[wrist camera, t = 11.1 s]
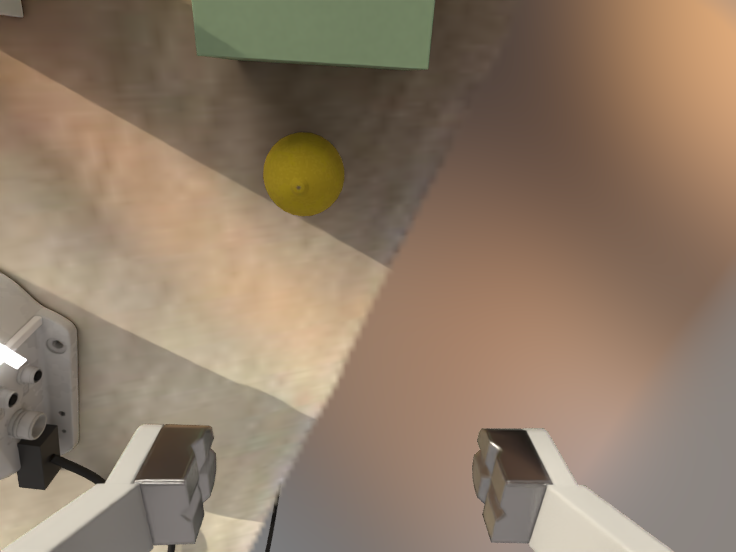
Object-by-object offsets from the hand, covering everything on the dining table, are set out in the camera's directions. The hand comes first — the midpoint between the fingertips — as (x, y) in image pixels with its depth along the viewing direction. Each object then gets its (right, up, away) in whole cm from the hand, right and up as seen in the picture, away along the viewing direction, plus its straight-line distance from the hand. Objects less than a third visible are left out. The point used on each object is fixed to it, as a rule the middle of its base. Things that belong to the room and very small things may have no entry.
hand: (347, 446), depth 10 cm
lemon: (-4, +13, +24) cm, 28 cm away
